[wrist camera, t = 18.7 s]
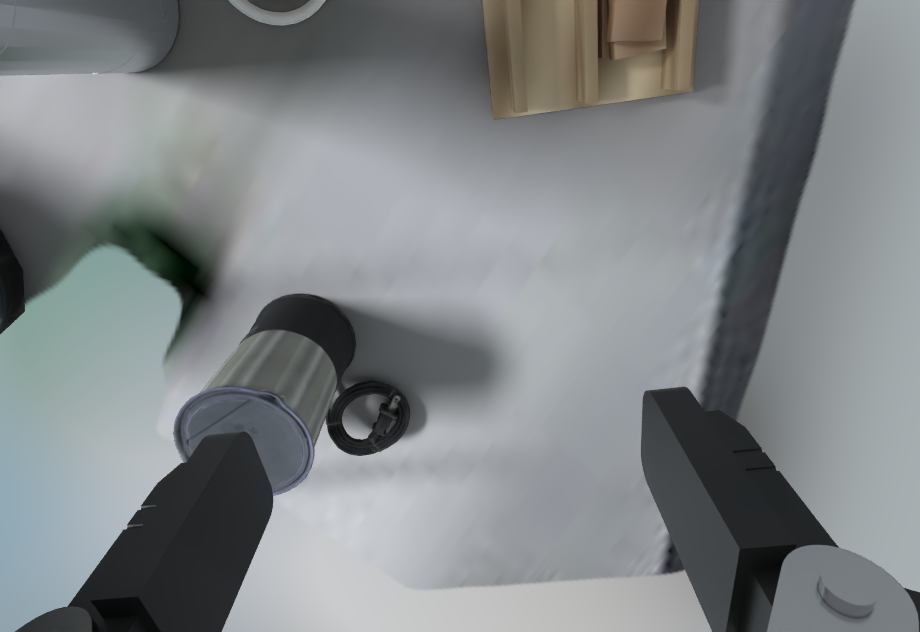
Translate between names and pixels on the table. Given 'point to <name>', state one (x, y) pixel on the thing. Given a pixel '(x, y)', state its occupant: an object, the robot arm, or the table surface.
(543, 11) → the pine rack
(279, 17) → the hamburger
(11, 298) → the beer stein
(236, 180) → the table surface
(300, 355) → the milk frother
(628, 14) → the offcut stack
